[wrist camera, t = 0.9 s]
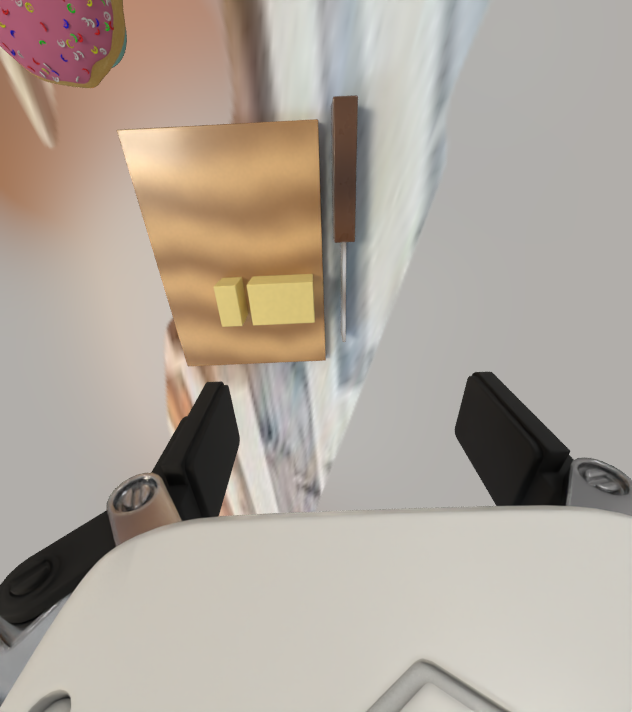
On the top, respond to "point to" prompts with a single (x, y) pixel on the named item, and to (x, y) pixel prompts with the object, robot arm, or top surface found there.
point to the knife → (344, 181)
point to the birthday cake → (64, 38)
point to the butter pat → (231, 301)
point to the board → (232, 228)
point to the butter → (281, 299)
